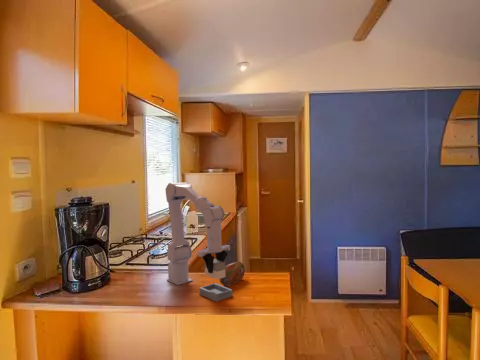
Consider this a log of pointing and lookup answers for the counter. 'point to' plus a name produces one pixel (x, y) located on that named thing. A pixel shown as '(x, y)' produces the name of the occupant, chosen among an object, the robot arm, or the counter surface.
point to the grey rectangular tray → (215, 292)
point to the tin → (233, 273)
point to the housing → (216, 269)
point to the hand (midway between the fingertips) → (215, 271)
